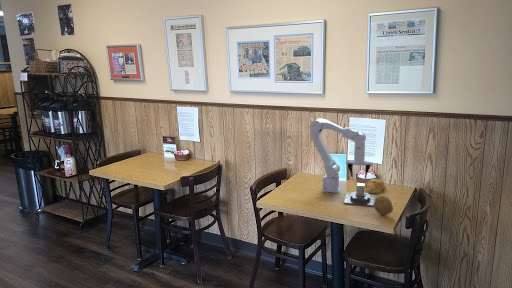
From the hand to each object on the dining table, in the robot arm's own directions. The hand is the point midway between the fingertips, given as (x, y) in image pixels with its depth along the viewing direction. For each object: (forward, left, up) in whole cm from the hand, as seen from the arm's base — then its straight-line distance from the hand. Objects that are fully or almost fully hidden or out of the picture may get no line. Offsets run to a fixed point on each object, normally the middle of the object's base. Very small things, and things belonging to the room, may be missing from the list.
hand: (358, 177), depth 220 cm
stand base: (+2, -10, -10) cm, 14 cm away
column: (+2, -10, -7) cm, 13 cm away
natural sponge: (+14, -27, -10) cm, 32 cm away
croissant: (+9, +10, -11) cm, 17 cm away
